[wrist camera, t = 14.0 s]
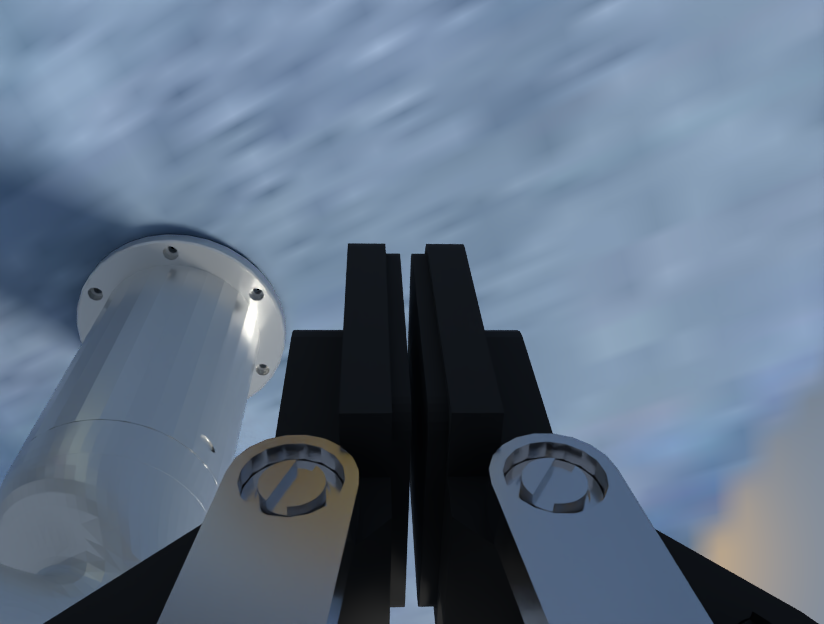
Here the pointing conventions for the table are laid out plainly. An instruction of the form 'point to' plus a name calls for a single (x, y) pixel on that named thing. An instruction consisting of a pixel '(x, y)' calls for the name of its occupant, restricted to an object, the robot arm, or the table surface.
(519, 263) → the table surface
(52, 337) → the table surface
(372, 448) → the robot arm
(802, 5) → the table surface
